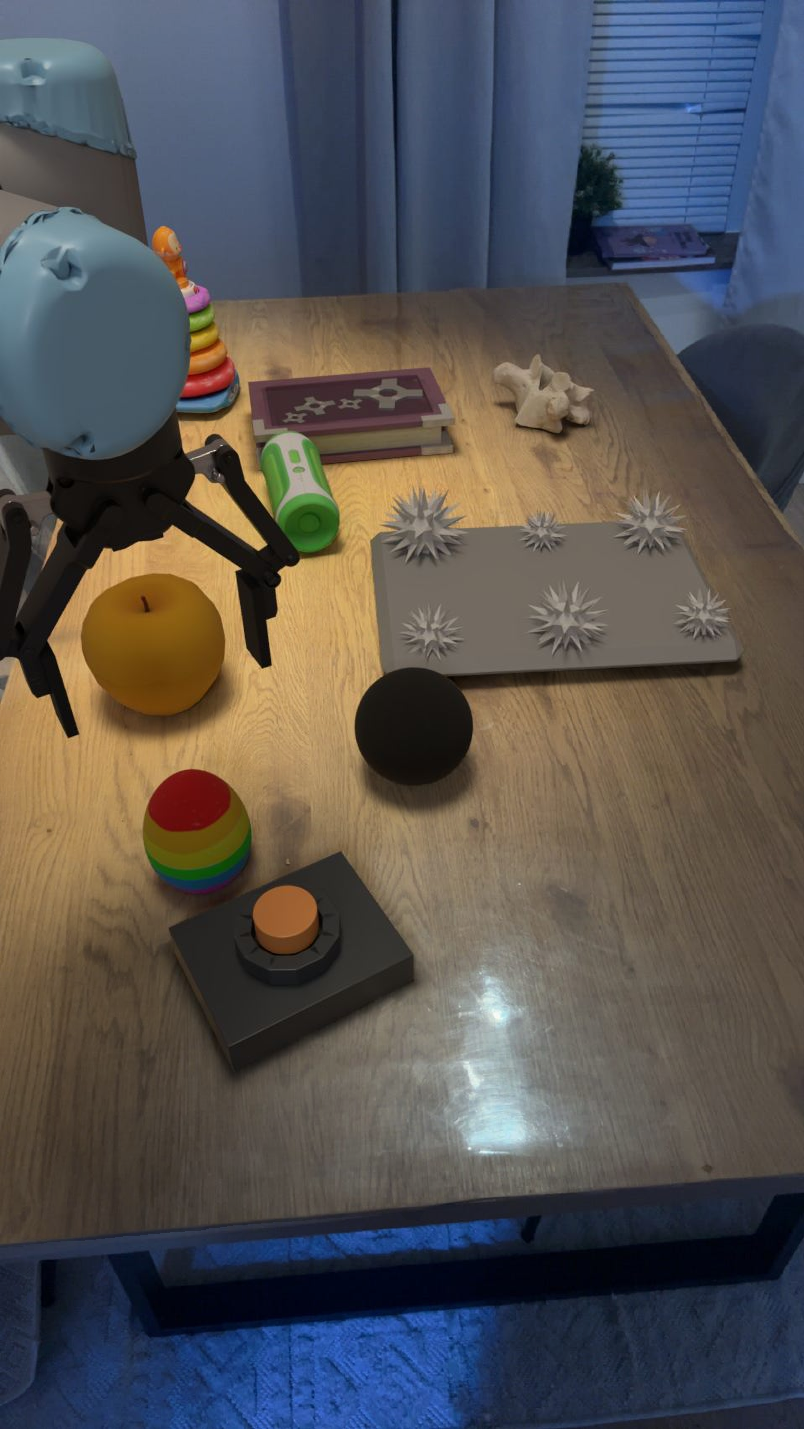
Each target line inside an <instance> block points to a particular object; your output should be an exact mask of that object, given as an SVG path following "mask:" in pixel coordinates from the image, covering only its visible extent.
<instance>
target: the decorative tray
mask: <svg viewBox="0 0 804 1429" xmlns="http://www.w3.org/2000/svg"><path fill="white" fill-rule="evenodd" d="M437 487H438V485H436V486H435V487H434V490H433V492H432V494H431V496H430V498H429V500H427V495H426V491H425V489H423V490H422V487H421V483H420V482H419V483H418V495H417V492H416V490H415V487H414V485H413V483H412V496H411V495H410V492H408V491H406V494H407V498H408V502H409V503H408V502H407V501H406V500H404V498H402V497H401V496H400V495H399V494H397V493H395V495H396V496H397V498H398V499H399V500H398V499H396V498H395V497H393V496H391V498H392V499H393V501H394V502H395V503H396V505H397V507H398V508H397V507H396V506H393V505H390V507H391V508H392V509H393V510H394V512H396V513H397V514H395V513H390V512H385V511H384V512H383V513H384V514H386V515H387V516H389V517H390V518H392V519H394V520H381V523H385V524H380V526H381V527H385V528H388V529H392V530H391V531H390V530H388V531H379V532H378V533H377V534H376V535H374V537H373V538H371V539H370V540H369V544H370V554H371V555H370V556H371V567H372V577H373V578H372V579H373V590H374V599H375V609H376V618H377V619H376V621H377V630H378V631H377V632H378V641H379V654H380V663H381V672H383V673H385V674H387V673H389V672H392V671H394V670H398V669H402V668H408V667H419V668H426V669H430V670H433V671H436V672H438V673H440V674H442V675H444V676H446V677H447V678H449V677H466V676H483V675H484V676H485V675H503V674H507V675H508V674H523V673H526V674H527V673H544V672H545V673H546V672H562V671H563V672H564V671H583V670H585V671H586V670H601V669H621V668H640V667H641V668H642V667H643V668H644V667H660V666H661V667H662V666H683V665H700V664H703V665H704V664H715V663H716V664H719V663H720V664H721V663H734V662H737V661H738V660H739V659H740V658H741V656H742V655H743V654H744V653H745V649H744V647H743V644H742V642H741V641H740V639H739V637H738V635H737V632H736V631H735V629H734V628H733V626H732V623H731V622H730V620H731V619H732V618H731V617H730V618H729V617H727V614H726V613H727V612H730V611H731V609H732V607H729V608H723V607H722V606H723V605H724V604H725V601H726V599H724V600H719V599H718V596H719V594H720V593H721V591H719V592H718V593H717V594H716V593H715V591H714V589H713V588H712V586H711V584H710V582H709V580H708V578H707V576H706V575H705V572H704V571H703V568H702V567H701V564H700V563H699V561H698V559H697V558H696V555H695V553H694V551H693V550H692V547H691V546H690V544H689V542H688V540H687V539H686V538H687V537H685V535H684V534H685V533H684V531H687V530H688V529H687V528H684V527H680V525H678V524H677V523H676V522H677V521H679V520H682V519H684V518H687V516H688V514H684V515H678V516H671V515H672V514H673V513H674V512H675V511H676V510H677V509H678V508H679V507H680V506H681V505H682V503H680V504H678V505H676V506H673V507H671V508H669V509H667V508H666V507H667V506H668V504H669V502H670V499H671V497H672V495H673V493H671V494H669V495H668V496H667V497H666V498H665V500H663V502H662V499H660V496H661V495H660V494H661V491H660V490H659V492H658V493H657V494H656V492H654V495H653V498H652V500H651V501H650V497H649V493H648V490H647V489H645V491H643V493H642V494H643V496H642V504H641V502H640V501H639V500H638V498H636V496H635V495H634V494H633V498H632V497H629V499H630V501H631V503H632V505H633V506H632V505H631V504H629V503H628V502H627V501H625V500H622V502H624V504H625V506H626V508H627V510H628V511H629V512H630V514H631V515H630V514H625V513H621V512H613V513H615V514H616V515H618V516H620V517H621V518H623V519H617V520H616V521H598V522H597V521H595V522H576V523H575V522H573V523H561V522H562V520H563V518H561V519H559V520H556V521H554V520H555V517H556V515H557V512H553V513H552V514H551V515H550V510H548V511H547V513H546V511H543V514H542V511H541V509H539V510H538V509H536V514H537V515H535V514H534V513H533V512H531V515H532V516H531V515H530V514H529V513H527V515H528V517H529V518H528V517H527V516H526V515H524V517H525V522H526V523H527V524H528V525H526V524H522V523H519V525H507V526H506V525H505V526H484V527H483V526H482V527H481V526H479V527H461V528H460V527H459V528H458V527H457V528H453V527H452V526H454V525H456V524H459V523H460V522H459V521H460V520H463V519H464V518H465V517H468V515H461V516H453V517H448V516H449V515H450V514H451V513H452V512H453V511H454V510H455V509H456V508H458V507H459V505H460V504H461V503H462V501H460V502H458V503H456V504H454V505H452V506H450V504H448V505H446V506H445V507H443V505H444V502H445V500H446V497H447V495H448V493H449V490H447V491H446V492H445V493H444V494H443V491H441V492H440V493H439V494H438V496H437V497H436V494H437ZM633 499H634V500H633ZM666 509H667V510H666ZM549 515H550V516H549ZM670 516H671V517H670Z"/></svg>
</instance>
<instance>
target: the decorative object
mask: <svg viewBox="0 0 804 1429" xmlns="http://www.w3.org/2000/svg"><path fill="white" fill-rule="evenodd" d="M541 358H542V357H541V355H540V354H539V353H537V354H536V355H535V356H534V357H533V358H532V359H531V363H530V365H529V368H526V369H523V368H521V367H519V366H517V365H516V364H514V363H511V362H509V361H507V362H506V361H505V362H503V363H501V364H498V365H497V366H496V367H495V368H494V369H493V372H492V374H491V376H492V380H493V382H494V383H495V384H497V385H500V386H501V387H503V388H505V389H507V390H508V391H510V392H511V393H512V395H513V396H514V401H515V407H516V413H517V415H516V417H515V418H514V422H515V423H516V424H518V425H520V426H522V427H528V428H531V429H532V428H533V429H542V430H544V431H547V432H550V433H554V434H560V433H561V431H562V430H563V425H562V421H561V419H562V418H564V417H565V420H567V421H568V422H572V423H575V424H579V425H584V426H587V425H589V422H590V420H591V417H590V411H589V409H588V401H589V399H590V397H591V394H592V393H594V392H595V390H594V389H593V388H591V387H584V386H580V385H578V384H576V383H574V382H573V381H571V380H572V379H571V376H570V375H569V373H567V372H564V371H560V372H559V371H558V372H555V371H554V370H553V369H552V368H550V367H549V366H547V365H544V363H543V362H542V359H541Z"/></svg>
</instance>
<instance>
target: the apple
mask: <svg viewBox="0 0 804 1429" xmlns="http://www.w3.org/2000/svg"><path fill="white" fill-rule="evenodd" d="M219 612H220V611H219V610H218V608H217V607H216V605H215V604H214V602H213V600H211V599H210V598H209V597H208V596H207V595H206V594H205V592H204V591H203V590H202V589H201V588H200V587H199V585H197V584H196V583H194V582H193V581H192V580H189V579H186V578H183V577H181V576H177V575H175V574H172V573H159V572H158V573H156V572H152V573H148V574H141V575H137V576H132V577H131V576H130V577H129V578H126V579H124V580H123V581H120V582H119V583H116V584H115V585H112V586H109V587H108V588H107V589H105V590H104V591H102V592H101V593H100V594H99V595H98V596H96V597H95V598H94V600H93V601H92V603H91V604H90V605H89V608H88V610H87V612H86V615H85V617H84V619H83V621H82V627H81V633H80V644H81V651H82V655H83V659H84V661H85V663H86V666H87V668H88V669H89V671H90V673H91V674H92V676H93V678H94V680H95V681H96V683H97V684H98V686H99V687H101V688H102V689H103V690H104V691H105V692H106V693H107V694H108V695H110V696H111V697H112V698H113V699H114V700H115V701H116V702H117V703H120V704H121V705H123V706H125V707H127V708H128V709H130V710H132V711H135V712H138V713H141V714H145V715H147V716H150V717H151V716H152V717H154V716H155V717H172V716H174V715H177V714H180V713H182V712H185V711H187V710H189V709H191V708H192V707H193V706H194V705H196V704H197V703H198V702H199V701H201V700H202V699H203V698H204V697H205V695H206V694H207V692H208V691H209V689H210V688H211V686H212V685H213V683H214V682H215V681H216V679H217V677H218V676H219V673H220V670H221V668H222V666H223V664H224V661H225V656H226V655H225V654H226V634H225V629H224V625H223V619H222V617H221V616H222V615H221V614H220V613H219Z"/></svg>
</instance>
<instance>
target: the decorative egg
mask: <svg viewBox="0 0 804 1429" xmlns="http://www.w3.org/2000/svg"><path fill="white" fill-rule="evenodd" d="M252 838H253V836H252V824H251V819H250V816H249V813H248V810H247V809H246V806H245V804H244V802H243V800H242V799H241V797H240V796H239V795H238V793H237V791H235V789H234V788H233V787H232V786H231V785H230V784H229V783H228V782H226V780H224V779H223V778H221V777H220V776H218V775H216V774H214V773H212V772H210V771H206V770H202V769H199V768H187V769H182V770H179V771H177V772H174V773H172V774H171V775H169V776H167V777H166V778H165V779H164V780H163V781H162V782H160V784H159V785H158V786H157V787H156V789H155V790H154V792H152V795H151V796H150V798H149V801H148V803H147V806H146V808H145V812H144V815H143V822H142V841H143V847H144V851H145V854H146V857H147V859H148V862H149V864H150V865H151V867H152V869H153V870H154V872H155V873H156V874H157V875H158V877H159V878H160V879H161V880H162V881H163V882H165V883H166V884H167V885H169V886H170V887H172V888H174V889H175V890H178V891H181V892H183V893H188V894H193V895H205V894H210V893H214V892H217V891H219V890H221V889H223V888H225V887H226V886H228V885H229V884H231V883H232V882H233V881H234V880H235V879H236V878H237V877H238V876H239V875H240V874H241V872H242V870H243V869H244V868H245V865H247V864H246V863H247V862H248V859H249V856H250V852H251V848H252Z"/></svg>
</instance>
